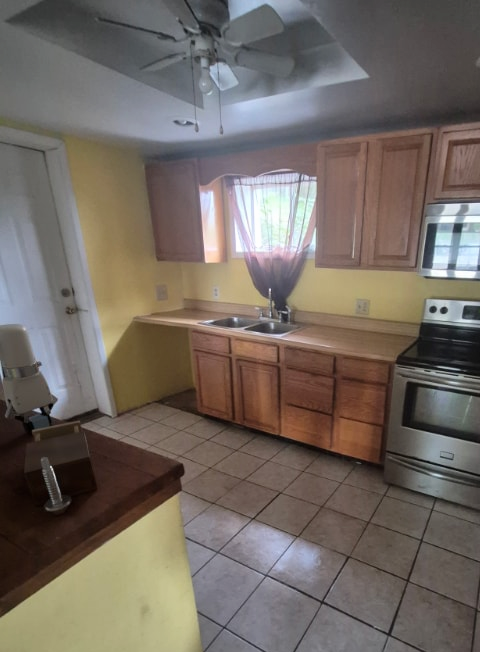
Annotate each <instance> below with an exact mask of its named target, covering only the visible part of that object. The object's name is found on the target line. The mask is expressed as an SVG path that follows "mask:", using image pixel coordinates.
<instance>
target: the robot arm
mask: <svg viewBox="0 0 480 652" xmlns="http://www.w3.org/2000/svg"><path fill="white" fill-rule="evenodd" d="M0 365H1V366H2V370H3V373H4V376H5V377H3V378H2V392H3V396H4V401H5V405H6V407H7V409H6V411H5V414H4V418H7V419H9V420H16V421H19V422H21V424H22V427H23V429H24V432H25V433H27V434H30V435H32V436H33V433H32V430H34V427H33V423H32V422H31V421H30V420H29V418H30V412H31V411H34V410H37V409H39V411H40V413H39V414H40V415H43V416H47V418H48V421H49V424H50V426H53V425H52V423H53V422H52V418H51V414H52V410H53V407H54V405H55V404H56V403H57V402H58V401H59V399H58V397H56V396H55V395H54V394H52V391H51V389H50V387H49V384H48V382H47V379H46V377H45V376H44V374H43V372H42V371H41V370H40V369H39V368H40V367H41V366H43V363H42V362H41V361H37V360H36V357H35V354H34V349H33V346H32V343H31V339H30V336H29V331H28V330H27V328H26V326H25V325H23V324H20V323H6V324H1V325H0ZM15 413H16V414H15Z"/></svg>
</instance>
